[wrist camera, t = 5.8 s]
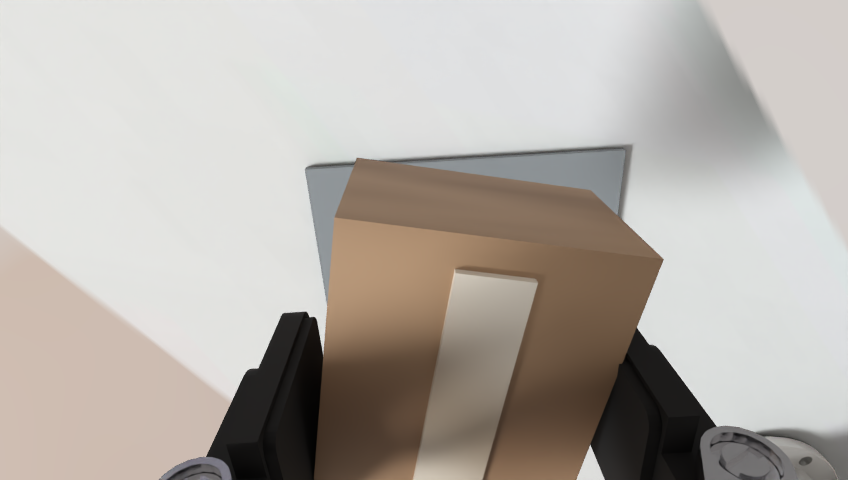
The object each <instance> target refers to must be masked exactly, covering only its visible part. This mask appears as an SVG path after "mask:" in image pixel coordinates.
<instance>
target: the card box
mask: <svg viewBox="0 0 848 480" xmlns="http://www.w3.org/2000/svg"><path fill="white" fill-rule="evenodd" d="M663 260H664V259H663V258H662V257H661V256H660V255H659V254H658V253H656V252H655V251H654V250H653V249H652V248H651V247H650V246H649V245H648V244H647V243H646V242H645V241H644V240H643V239H642V238H641V237H640V236H639V235H637V234H636V233H635V232H634V231H633V230H632V229H631V228H630V227H629V226H628V225H627V224H626V223H625V222H624V221H623V220H622V219H621V218H620V217H618V216H617V215H616V214H615V213H614V212H613V211H612V210H611V209H610V208H609V207H608V206H607V205H606V204H605V203H604V202H603V201H602V200H601V199H599V198H598V197H597V196H596V195H595V194H594V193H593V192H592V191H591V190H586V189H579V188H572V187H565V186H557V185H550V184H543V183H536V182H528V181H521V180H514V179H507V178H499V177H492V176H485V175H478V174H470V173H463V172H456V171H449V170H442V169H434V168H427V167H420V166H413V165H405V164H398V163H391V162H384V161H376V160H369V159H362V158H357V159H356V162H355V164H354V167H353V170H352V172H351V175H350V178H349V180H348V183H347V185H346V188H345V191H344V193H343V196H342V199H341V201H340V204H339V206H338V209H337V212H336V214H335V217H334V228H333V240H332V253H331V266H330V279H329V291H328V304H327V317H326V330H325V343H324V355H323V368H322V381H321V394H320V407H319V419H318V432H317V445H316V458H315V471H314V480H576V479H577V476H578V474H579V471H580V469H581V466H582V464H583V461H584V459H585V456H586V454H587V451H588V449H589V446H590V444H591V441H592V439H593V436H594V434H595V431H596V428H597V426H598V423H599V421H600V418H601V416H602V413H603V411H604V408H605V406H606V403H607V401H608V398H609V396H610V393H611V391H612V388H613V386H614V383H615V381H616V378H617V374H618V367H619V364H622V363H623V361H624V358H625V355H626V353H627V350H628V348H629V345H630V343H631V340H632V338H633V335H634V333H635V330H636V328H637V325H638V323H639V320H640V318H641V315H642V313H643V310H644V308H645V305H646V303H647V300H648V298H649V295H650V293H651V290H652V288H653V285H654V282H655V280H656V277H657V275H658V272H659V270H660V267H661V265H662V262H663Z"/></svg>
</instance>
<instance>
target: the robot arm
mask: <svg viewBox="0 0 848 480" xmlns="http://www.w3.org/2000/svg"><path fill="white" fill-rule="evenodd" d="M322 368H323V352H322V347H321V341H320V335H319V330H318V324H317V320H316V318H315V317H309V315H308V313H307V312H294V313H283V314H282V316H281V318H280V320H279V323H278V325H277V327H276V330H275V332H274V334H273V336H272V339H271V341H270V343H269V346H268V348H267V350H266V352H265V355H264V357H263V359H262V362H261V364H260V366H259V368H258V369H249V370H248V371H247V372H246V373H245V375H244V377H243V379H242V381H241V383H240V385H239V388H238V390H237V392H236V394H235V396H234V398H233V400H232V403H231V405H230V407H229V409H228V411H227V413H226V415H225V417H224V420H223V422H222V424H221V426H220V428H219V431H218V433H217V435H216V437H215V439H214V441H213V443H212V445H211V447H210V450H209V452H208V454H207V456H206V457H200V458H196V459H191V460H188V461H186V462H184V463H181V464H179V465H177V466H175V467H174V468H173V469H171V470H169V471H168V472H167V473H165V474H164V475H163V476H162V477H161V478H160V479H159V480H314V471H315V458H316V445H317V432H318V419H319V407H320V394H321V381H322ZM590 445H591V447H592V450H593V452H594V454H595V457H596V459H597V462H598V464H599V466H600V469H601V471H602V474H603V476H604V478H605V480H838V477H837V475H836V472H835V470H834V468H833V467H832V466H831V465H830V463H829V462H828V461H827V460H826V459H825V458H824V457H823V455H822V454H820V453H819V452H818V451H817V450H816V449H815V448H813V447H812V446H810V445H808V444H806V443H804V442H802V441H798V440H794V439H790V438H784V437H772V436H767V437H763V436H761V435H759V434H757V433H755V432H753V431H749V430H746V429H743V428H740V427H732V426H719V427H717V426H716V425H715V424H714V422H713V421H712V420H711V418H710V417H709V416H708V414H707V413H706V412H705V410H704V409H703V407H702V406H701V405H700V403H699V402H698V401H697V399H696V398H695V397H694V395H693V394H692V393H691V391H690V390H689V389H688V387H687V386H686V385H685V383H684V382H683V381H682V379H681V378H680V377H679V375H678V374H677V373H676V371H675V370H674V369H673V367H672V366H671V365H670V363H669V362H668V361H667V359H666V358H665V357H664V355H663V354H662V352H661V351H660V350H659V349H658V348H657V347H656V346H654V345H649V344H648V343H647V341H646V340H645V338H644V337H643V336H642V334H641V333H640V332H639V330H638V329H637V328H636V330H635V333H634V335H633V338H632V340H631V343H630V345H629V348H628V350H627V353H626V355H625V358H624V361H623V363H622V364H619V367H618V374H617V378H616V381H615V383H614V386H613V388H612V391H611V393H610V396H609V398H608V401H607V403H606V406H605V408H604V411H603V413H602V416H601V418H600V421H599V423H598V426H597V428H596V431H595V434H594V436H593V439H592V441H591V444H590Z"/></svg>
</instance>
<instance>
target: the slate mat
mask: <svg viewBox="0 0 848 480" xmlns="http://www.w3.org/2000/svg"><path fill="white" fill-rule="evenodd" d="M625 153H626V150H625V149H623V148H619V149H602V150H586V151H569V152H553V153H536V154H520V155H503V156H487V157H470V158H454V159H437V160H420V161H404V162H391V163H398V164H405V165H413V166H420V167H427V168H434V169H442V170H449V171H456V172H463V173H470V174H478V175H485V176H492V177H499V178H507V179H514V180H521V181H528V182H536V183H543V184H550V185H557V186H565V187H572V188H579V189H586V190H591V191H592V192H593V193H594V194H595V195H596V196H597V197H598V198H599V199H601V200H602V201H603V202H604V203H605V204H606V205H607V206H608V207H609V208H610V209H611V210H612V211H613V212H614V213H615V214H616V215H617V216H618V208H619V200H620V192H621V185H622V177H623V169H624V161H625ZM353 167H354V165H338V166H321V167H306V169H305V173H306V179H307V185H308V191H309V198H310V204H311V210H312V216H313V222H314V228H315V234H316V240H317V246H318V252H319V258H320V264H321V271H322V277H323V283H324V289H325V295H326V301H327V304H328V291H329V279H330V266H331V253H332V240H333V228H334V217H335V214H336V212H337V209H338V206H339V204H340V201H341V199H342V196H343V193H344V191H345V188H346V185H347V183H348V180H349V178H350V175H351V172H352V170H353Z"/></svg>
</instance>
